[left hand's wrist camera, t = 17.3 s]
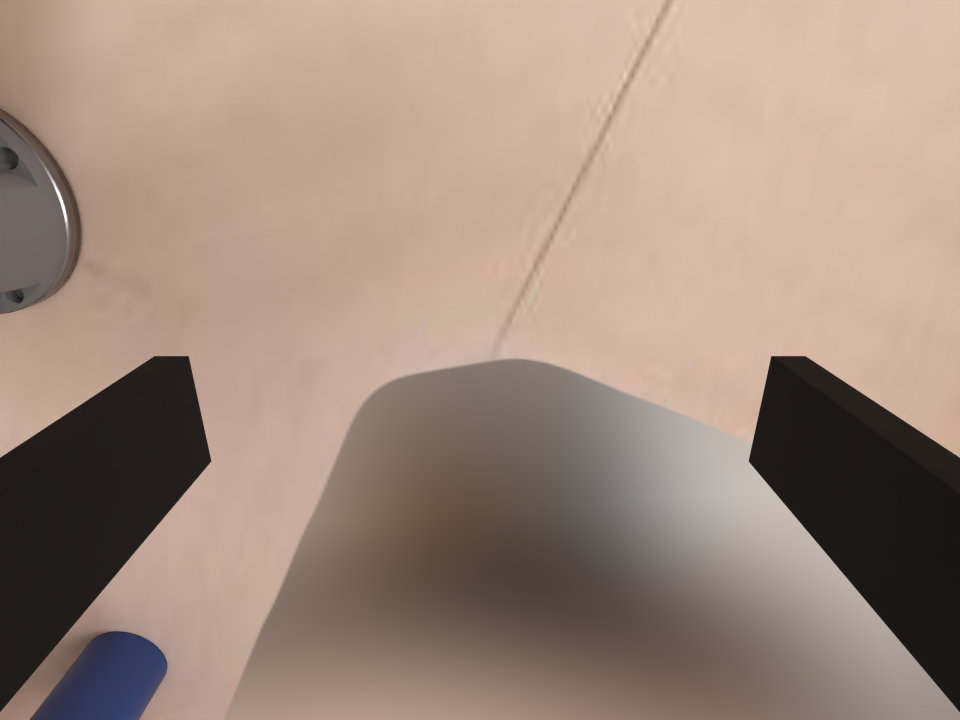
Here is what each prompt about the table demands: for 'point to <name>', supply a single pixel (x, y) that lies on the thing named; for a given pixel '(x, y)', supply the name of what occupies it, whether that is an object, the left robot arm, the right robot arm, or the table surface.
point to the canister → (107, 681)
